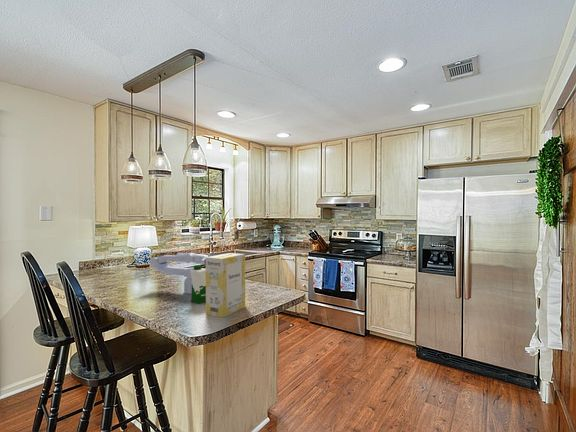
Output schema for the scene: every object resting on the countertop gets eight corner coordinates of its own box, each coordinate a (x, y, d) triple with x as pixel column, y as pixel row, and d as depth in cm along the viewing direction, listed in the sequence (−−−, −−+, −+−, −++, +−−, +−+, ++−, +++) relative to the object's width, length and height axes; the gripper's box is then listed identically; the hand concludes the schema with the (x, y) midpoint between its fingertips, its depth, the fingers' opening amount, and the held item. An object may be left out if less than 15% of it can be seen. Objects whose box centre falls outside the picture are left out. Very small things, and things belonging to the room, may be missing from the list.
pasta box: (222, 317, 141) (222, 258, 141) (206, 314, 146) (205, 257, 145) (245, 306, 157) (245, 254, 157) (229, 304, 162) (229, 252, 162)
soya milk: (200, 298, 173) (200, 264, 173) (211, 300, 168) (211, 265, 168) (188, 302, 166) (188, 266, 165) (199, 304, 161) (199, 267, 161)
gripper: (195, 254, 177) (214, 256, 172) (209, 251, 190) (227, 253, 186) (194, 265, 177) (214, 268, 172) (209, 262, 191) (227, 264, 186)
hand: (221, 261), depth 179 cm, fingers open, 7 cm apart
